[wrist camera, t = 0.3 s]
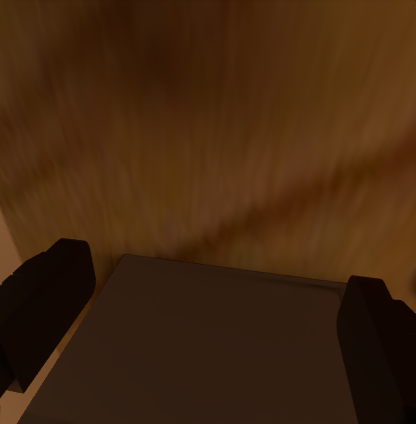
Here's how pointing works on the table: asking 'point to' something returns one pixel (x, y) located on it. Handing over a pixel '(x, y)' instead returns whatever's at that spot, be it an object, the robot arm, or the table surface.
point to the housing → (201, 351)
